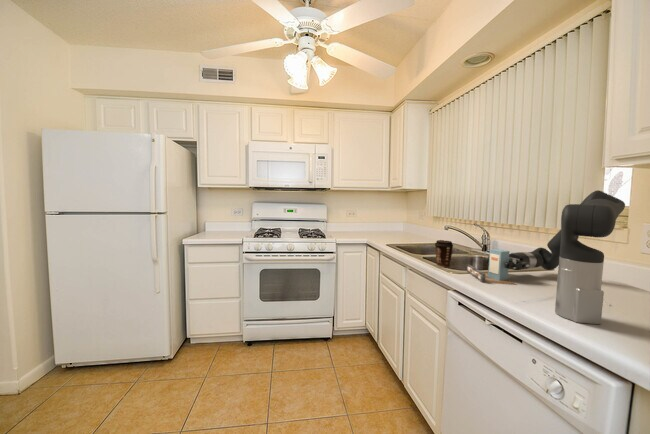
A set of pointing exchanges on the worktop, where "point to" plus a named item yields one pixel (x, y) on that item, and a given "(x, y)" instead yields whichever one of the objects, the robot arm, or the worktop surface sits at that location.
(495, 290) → the worktop surface
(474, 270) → the shelf board
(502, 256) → the carton
